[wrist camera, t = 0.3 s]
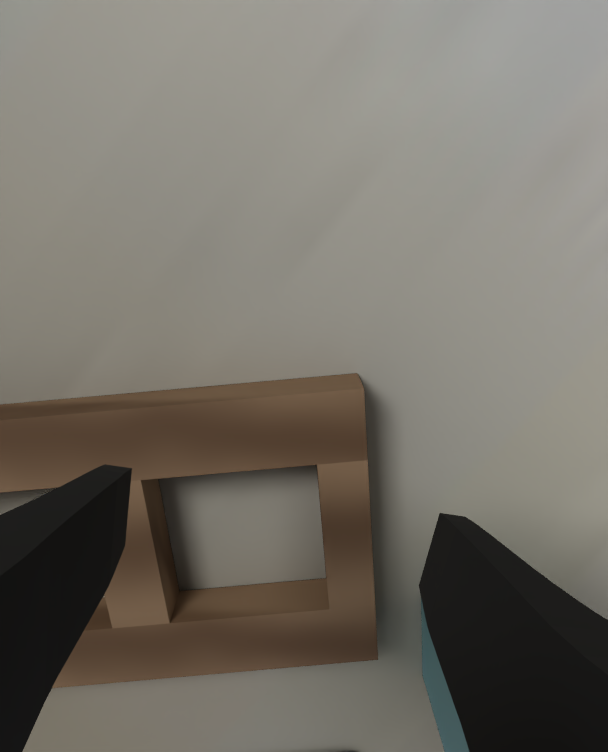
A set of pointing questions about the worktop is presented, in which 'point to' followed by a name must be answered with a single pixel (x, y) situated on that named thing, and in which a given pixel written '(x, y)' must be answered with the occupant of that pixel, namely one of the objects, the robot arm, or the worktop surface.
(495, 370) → the worktop surface
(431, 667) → the teal block
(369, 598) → the walnut frame
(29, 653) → the robot arm
